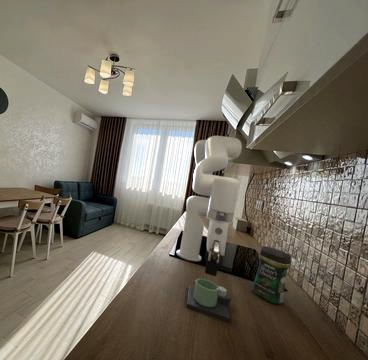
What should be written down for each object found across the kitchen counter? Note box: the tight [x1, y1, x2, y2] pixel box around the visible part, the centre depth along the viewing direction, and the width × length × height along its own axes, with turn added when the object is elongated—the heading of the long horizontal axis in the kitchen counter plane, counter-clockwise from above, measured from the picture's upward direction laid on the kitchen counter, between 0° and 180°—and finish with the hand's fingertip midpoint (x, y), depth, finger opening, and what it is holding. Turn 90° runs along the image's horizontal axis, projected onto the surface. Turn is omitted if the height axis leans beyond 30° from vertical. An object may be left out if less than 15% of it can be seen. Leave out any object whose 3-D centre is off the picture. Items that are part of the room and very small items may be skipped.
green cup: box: [193, 278, 219, 307], centre depth 68 cm, size 7×7×6 cm
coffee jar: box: [251, 245, 292, 305], centre depth 80 cm, size 10×8×19 cm
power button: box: [218, 285, 228, 297], centre depth 71 cm, size 3×3×2 cm
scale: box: [186, 285, 232, 323], centre depth 69 cm, size 13×13×3 cm
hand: (209, 268), depth 68 cm, fingers open, 9 cm apart
